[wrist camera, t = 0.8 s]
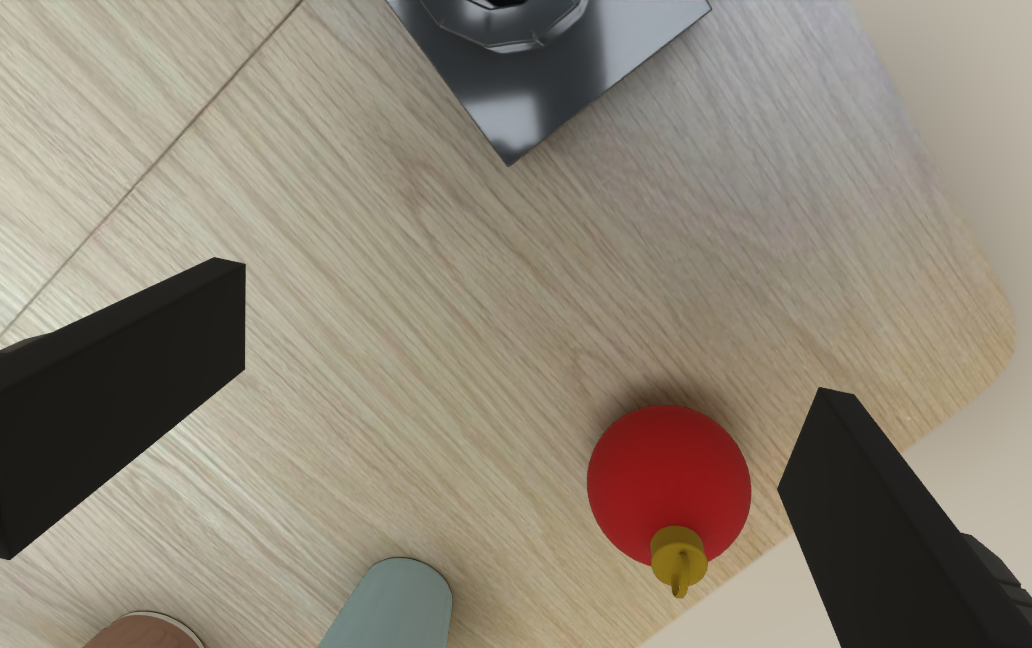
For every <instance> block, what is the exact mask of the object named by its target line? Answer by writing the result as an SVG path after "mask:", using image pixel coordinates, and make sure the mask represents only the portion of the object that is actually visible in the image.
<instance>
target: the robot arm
mask: <svg viewBox="0 0 1032 648" xmlns="http://www.w3.org/2000/svg"><path fill="white" fill-rule="evenodd" d="M245 282H246V264H244V263H239V262H234V261H230V260H225V259H220V258H216V257H213V258H211V259H209V260H207V261H205V262H203V263H200V264H198V265H196V266H194V267H192V268H190V269H188V270H185V271H183V272H181V273H179V274H177V275H175V276H172V277H170V278H168V279H166V280H164V281H162V282H160V283H157V284H155V285H153V286H151V287H149V288H147V289H144V290H142V291H140V292H138V293H136V294H134V295H132V296H129V297H127V298H125V299H123V300H121V301H119V302H116V303H114V304H112V305H110V306H108V307H106V308H104V309H101V310H99V311H97V312H95V313H93V314H91V315H88V316H86V317H84V318H82V319H80V320H78V321H76V322H73V323H71V324H69V325H67V326H65V327H63V328H60V329H58V330H56V331H54V332H52V333H48V334H44V335H40V336H36V337H32V338H28V339H24V340H22V341H19V342H17V343H15V344H13V345H11V346H8V347H6V348H4V349H2V350H0V558H2V559H6V560H11V559H12V558H13V557H14V556H16V555H17V554H18V553H19V552H21V551H22V550H23V549H24V548H26V547H27V546H28V545H29V544H30V543H32V542H33V541H34V540H35V539H37V538H38V537H39V536H40V535H42V534H43V533H44V532H45V531H46V530H48V529H49V528H50V527H51V526H53V525H54V524H55V523H56V522H58V521H59V520H60V519H61V518H62V517H64V516H65V515H66V514H67V513H69V512H70V511H71V510H72V509H74V508H75V507H76V506H77V505H78V504H80V503H81V502H82V501H83V500H85V499H86V498H87V497H88V496H90V495H91V494H92V493H93V492H94V491H96V490H97V489H98V488H99V487H101V486H102V485H103V484H104V483H106V482H107V481H108V480H109V479H110V478H112V477H113V476H114V475H115V474H117V473H118V472H119V471H120V470H122V469H123V468H124V467H125V466H127V465H128V464H129V463H130V462H131V461H133V460H134V459H135V458H136V457H138V456H139V455H140V454H141V453H143V452H144V451H145V450H146V449H147V448H149V447H150V446H151V445H152V444H154V443H155V442H156V441H157V440H159V439H160V438H161V437H162V436H163V435H165V434H166V433H167V432H168V431H170V430H171V429H172V428H173V427H175V426H176V425H177V424H178V423H179V422H181V421H182V420H183V419H184V418H186V417H187V416H188V415H189V414H191V413H192V412H193V411H194V410H195V409H197V408H198V407H199V406H200V405H202V404H203V403H204V402H205V401H207V400H208V399H209V398H210V397H211V396H213V395H214V394H215V393H216V392H218V391H219V390H220V389H221V388H223V387H224V386H225V385H226V384H227V383H229V382H230V381H231V380H232V379H234V378H235V377H236V376H237V375H239V374H240V373H241V372H242V371H243V370H245ZM777 490H778V493H779V495H780V498H781V500H782V503H783V505H784V507H785V510H786V512H787V515H788V517H789V520H790V522H791V525H792V527H793V530H794V532H795V535H796V537H797V540H798V542H799V544H800V547H801V549H802V552H803V554H804V557H805V559H806V562H807V564H808V567H809V569H810V572H811V574H812V577H813V579H814V581H815V584H816V586H817V589H818V591H819V594H820V596H821V599H822V601H823V604H824V606H825V608H826V611H827V613H828V616H829V618H830V621H831V623H832V626H833V628H834V631H835V633H836V636H837V638H838V641H839V643H840V646H841V648H1032V597H1031V596H1030V595H1029V593H1028V592H1027V591H1026V590H1025V589H1022V588H1021V584H1020V583H1019V581H1018V580H1017V579H1016V578H1015V576H1014V575H1013V574H1012V572H1011V571H1010V570H1009V569H1008V568H1007V566H1006V565H1005V564H1004V563H1003V561H1002V560H1001V559H1000V558H999V557H998V556H996V555H995V554H994V553H993V552H991V551H990V550H989V549H988V548H987V547H985V546H984V545H983V544H982V543H980V542H979V541H978V540H977V539H976V538H974V537H973V536H972V535H969V534H964V533H960V532H959V530H958V529H957V528H956V526H955V525H954V524H953V522H952V521H951V520H950V519H949V517H948V516H947V515H946V513H945V512H944V511H943V510H942V508H941V507H940V506H939V504H938V503H937V502H936V500H935V499H934V498H933V496H932V495H931V494H930V492H929V491H928V490H927V489H926V487H925V486H924V485H923V483H922V482H921V481H920V479H919V478H918V477H917V476H916V474H915V473H914V472H913V470H912V469H911V468H910V466H908V464H907V462H906V461H905V460H904V459H903V457H902V456H901V455H900V453H899V452H898V451H897V449H896V448H895V447H894V445H893V444H892V443H891V442H890V440H889V439H888V438H887V436H886V435H885V434H884V432H883V431H882V430H881V429H880V427H879V426H878V425H877V423H876V422H875V421H874V419H873V418H872V417H871V415H870V414H869V413H868V412H867V410H866V409H865V408H864V406H863V405H862V404H861V402H860V401H859V400H858V399H857V397H856V396H855V395H854V394H850V393H845V392H840V391H836V390H831V389H826V388H822V387H819V388H818V390H817V393H816V395H815V398H814V400H813V403H812V405H811V407H810V410H809V412H808V415H807V417H806V420H805V422H804V424H803V427H802V429H801V432H800V434H799V437H798V439H797V442H796V444H795V446H794V449H793V451H792V454H791V456H790V459H789V461H788V464H787V466H786V468H785V471H784V473H783V476H782V478H781V481H780V483H779V486H778V488H777Z"/></svg>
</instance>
